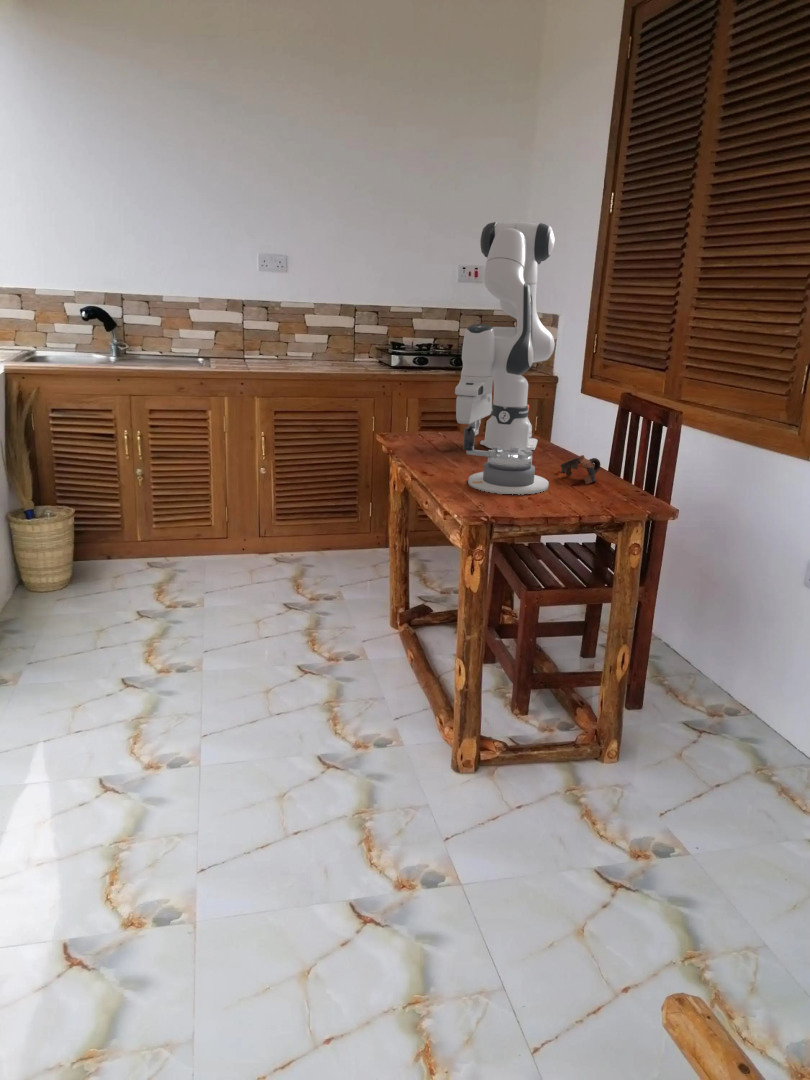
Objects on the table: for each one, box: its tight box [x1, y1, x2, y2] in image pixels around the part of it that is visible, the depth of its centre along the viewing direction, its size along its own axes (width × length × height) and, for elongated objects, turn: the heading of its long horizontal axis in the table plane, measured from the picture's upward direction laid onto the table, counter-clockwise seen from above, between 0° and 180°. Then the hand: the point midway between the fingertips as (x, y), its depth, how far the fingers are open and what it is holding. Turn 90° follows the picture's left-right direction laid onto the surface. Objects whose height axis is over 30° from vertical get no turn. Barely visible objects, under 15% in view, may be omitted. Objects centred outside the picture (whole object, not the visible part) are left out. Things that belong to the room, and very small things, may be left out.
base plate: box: [467, 461, 550, 496], centre depth 221 cm, size 22×22×5 cm
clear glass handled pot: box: [462, 426, 533, 470], centre depth 220 cm, size 12×20×9 cm, turn 66°
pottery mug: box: [559, 454, 601, 485], centre depth 229 cm, size 12×10×8 cm
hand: (473, 435), depth 226 cm, fingers closed
